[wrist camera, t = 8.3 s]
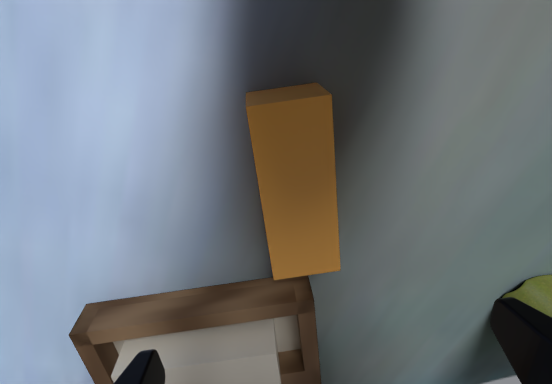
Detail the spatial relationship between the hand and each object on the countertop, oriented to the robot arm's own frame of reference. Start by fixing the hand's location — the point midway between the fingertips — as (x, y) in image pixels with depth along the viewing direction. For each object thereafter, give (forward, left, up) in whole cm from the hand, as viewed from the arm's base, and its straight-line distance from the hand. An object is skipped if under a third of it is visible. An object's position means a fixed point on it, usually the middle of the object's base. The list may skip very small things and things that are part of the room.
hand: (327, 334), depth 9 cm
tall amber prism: (0, 0, -11) cm, 11 cm away
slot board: (+6, +14, -11) cm, 19 cm away
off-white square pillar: (+6, +10, -10) cm, 16 cm away
